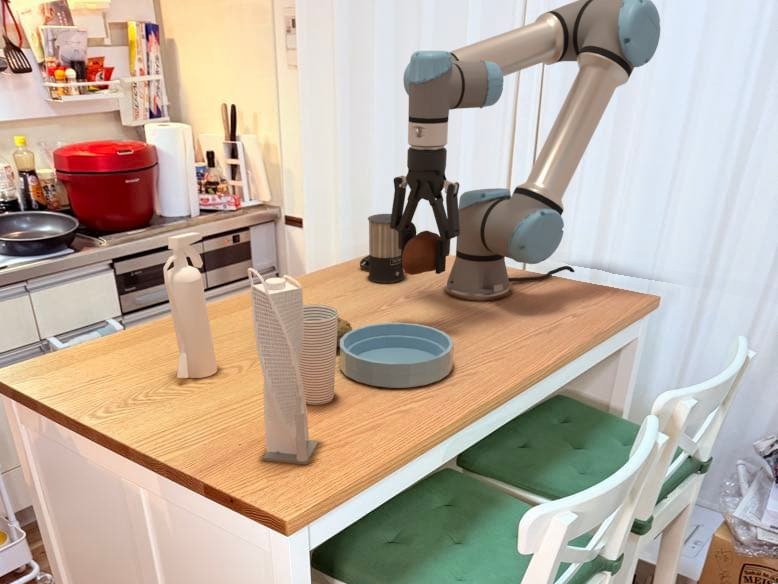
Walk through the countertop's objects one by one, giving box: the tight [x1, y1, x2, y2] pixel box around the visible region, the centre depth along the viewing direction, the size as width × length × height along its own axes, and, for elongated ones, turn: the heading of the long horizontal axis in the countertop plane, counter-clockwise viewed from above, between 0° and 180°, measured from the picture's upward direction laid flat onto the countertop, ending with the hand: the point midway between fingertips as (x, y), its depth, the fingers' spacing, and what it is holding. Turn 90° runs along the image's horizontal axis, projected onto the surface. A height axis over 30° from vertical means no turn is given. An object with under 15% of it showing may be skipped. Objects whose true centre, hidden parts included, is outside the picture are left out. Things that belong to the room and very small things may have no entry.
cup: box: [299, 304, 339, 405], centre depth 133 cm, size 8×8×16 cm
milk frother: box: [359, 213, 417, 284], centre depth 196 cm, size 14×16×15 cm
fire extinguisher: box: [162, 231, 218, 379], centre depth 140 cm, size 7×12×25 cm, turn 153°
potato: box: [402, 230, 440, 276], centre depth 158 cm, size 8×12×8 cm, turn 140°
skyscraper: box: [247, 267, 319, 466], centre depth 114 cm, size 8×8×28 cm
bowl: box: [339, 322, 455, 389], centre depth 148 cm, size 22×22×5 cm
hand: (422, 268), depth 160 cm, fingers closed on potato, 8 cm apart
